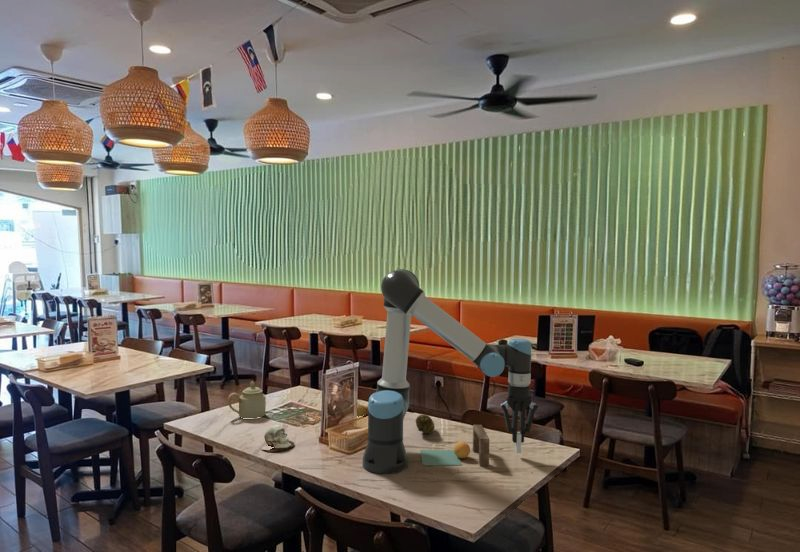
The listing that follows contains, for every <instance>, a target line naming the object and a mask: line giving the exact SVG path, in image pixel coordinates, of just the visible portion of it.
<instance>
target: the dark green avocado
mask: <svg viewBox="0 0 800 552" xmlns="http://www.w3.org/2000/svg"><path fill="white" fill-rule="evenodd" d="M415 425H416V428H417V430H418V431H419V432H422V433H425V434H431V433H433V432H434V430H435V427H436V426H435V422H434V420H433V419H432V417H430V416H429V415H427V414H419V415H418V416H417V417H416V419H415Z"/></svg>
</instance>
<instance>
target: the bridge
mask: <svg viewBox="0 0 800 552" xmlns="http://www.w3.org/2000/svg"><path fill="white" fill-rule="evenodd" d="M472 451H473V453H478V464H479V467H489V466H490V437H489V435H488V433H487V432H486V430H485V429H484V427H483V425H482V424H473V425H472Z"/></svg>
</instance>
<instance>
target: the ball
mask: <svg viewBox="0 0 800 552" xmlns="http://www.w3.org/2000/svg"><path fill="white" fill-rule="evenodd" d="M453 450H454V453H455V455H456V456H457V457H459V459H466V458H468V456H470V452H471V448H470V445H469V444H468V443H467V442H466V441H458V442H457V443H456V444H455V445H454V447H453Z"/></svg>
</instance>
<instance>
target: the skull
mask: <svg viewBox="0 0 800 552" xmlns="http://www.w3.org/2000/svg"><path fill="white" fill-rule="evenodd" d="M263 436H264V437H263V438H264V441H265V444H266V446H267V445H268V446H271V447H274V448H272V449H270V450H267V451H266V452H279V451H285V450H288V449H292V447H294V445H295V442H293V441H291V440H290V439H289V437H288V433H287V432H286V430H285V428H284V427H283V426H281V425H279V424H274V425H271V426H270V427H269V428H268V429H266V431H265V432H264V435H263Z"/></svg>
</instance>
